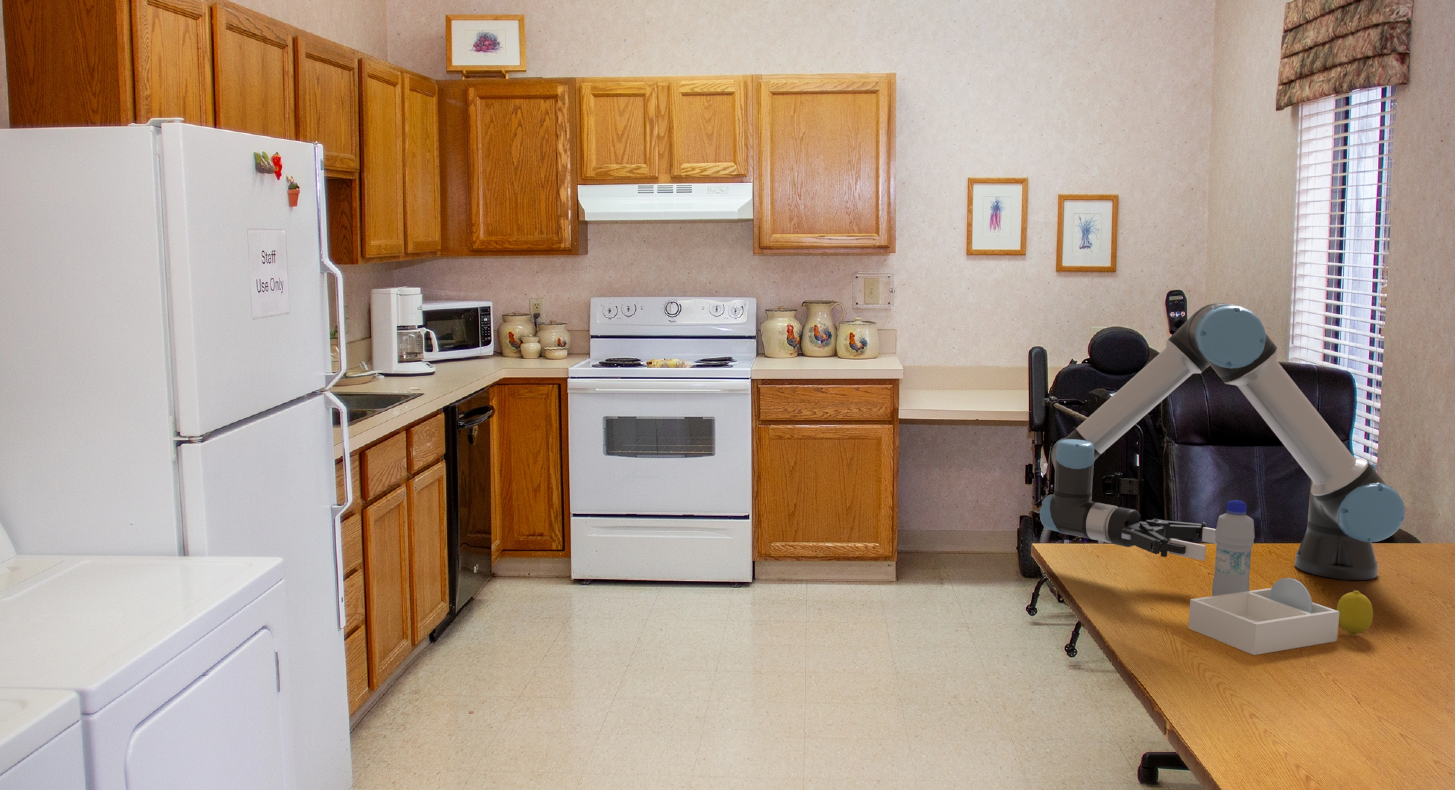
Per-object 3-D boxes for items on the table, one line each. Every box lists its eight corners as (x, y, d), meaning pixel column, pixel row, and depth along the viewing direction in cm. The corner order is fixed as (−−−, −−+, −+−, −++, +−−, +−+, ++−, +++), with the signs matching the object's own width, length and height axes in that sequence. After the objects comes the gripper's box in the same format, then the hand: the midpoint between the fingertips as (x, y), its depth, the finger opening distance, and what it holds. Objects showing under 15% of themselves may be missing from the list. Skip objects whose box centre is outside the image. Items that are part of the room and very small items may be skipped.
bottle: (1203, 600, 211) (1210, 496, 208) (1237, 599, 212) (1244, 496, 209) (1221, 611, 204) (1229, 504, 202) (1256, 611, 205) (1265, 504, 202)
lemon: (1375, 642, 189) (1380, 596, 188) (1340, 639, 190) (1344, 594, 189) (1364, 631, 195) (1368, 587, 194) (1329, 629, 196) (1333, 584, 195)
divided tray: (1268, 615, 202) (1272, 566, 201) (1336, 640, 190) (1341, 588, 188) (1188, 627, 195) (1191, 576, 194) (1253, 655, 182) (1258, 600, 181)
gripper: (1144, 533, 232) (1248, 554, 217) (1081, 554, 215) (1188, 578, 200) (1146, 498, 231) (1251, 517, 216) (1083, 516, 215) (1191, 538, 199)
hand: (1221, 546), depth 208 cm, fingers open, 13 cm apart
